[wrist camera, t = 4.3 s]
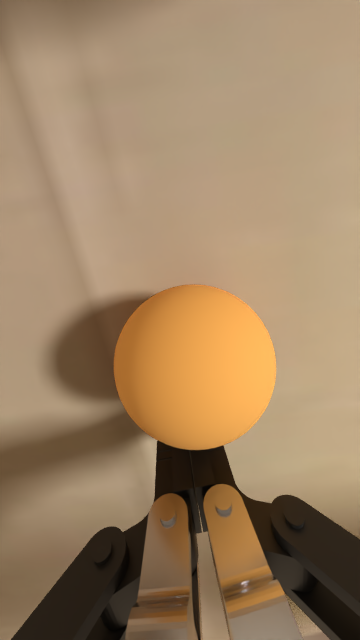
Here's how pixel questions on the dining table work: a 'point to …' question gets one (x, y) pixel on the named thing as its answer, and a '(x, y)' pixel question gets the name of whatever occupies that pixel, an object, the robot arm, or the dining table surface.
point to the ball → (194, 367)
